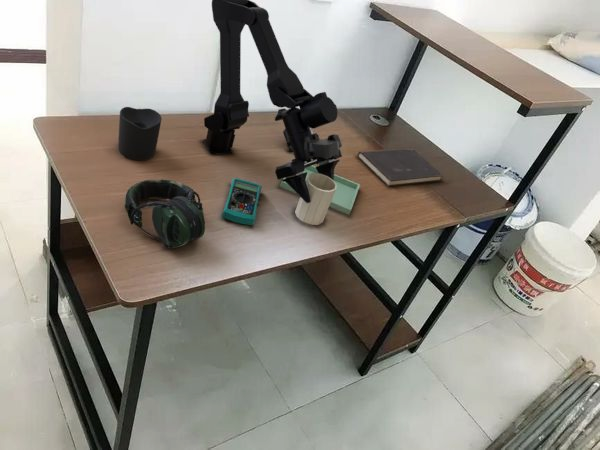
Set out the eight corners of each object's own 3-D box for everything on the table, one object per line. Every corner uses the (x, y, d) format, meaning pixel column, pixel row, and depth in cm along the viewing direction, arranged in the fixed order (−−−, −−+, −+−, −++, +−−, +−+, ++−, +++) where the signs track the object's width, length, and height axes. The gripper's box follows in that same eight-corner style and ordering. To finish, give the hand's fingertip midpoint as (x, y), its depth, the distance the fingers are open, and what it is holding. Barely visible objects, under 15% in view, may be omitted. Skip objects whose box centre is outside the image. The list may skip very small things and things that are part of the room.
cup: (300, 226, 123) (313, 190, 117) (290, 207, 128) (303, 172, 122) (326, 226, 126) (341, 192, 120) (316, 208, 131) (330, 174, 125)
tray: (279, 188, 133) (281, 181, 132) (293, 164, 145) (296, 158, 143) (348, 216, 132) (351, 210, 131) (357, 190, 144) (360, 184, 142)
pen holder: (142, 166, 123) (147, 130, 117) (108, 151, 124) (111, 114, 118) (163, 151, 131) (168, 116, 125) (130, 137, 131) (134, 101, 126)
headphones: (234, 214, 109) (171, 177, 118) (203, 187, 97) (137, 148, 106) (197, 267, 107) (136, 225, 116) (162, 246, 95) (97, 201, 104)
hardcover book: (440, 181, 163) (443, 175, 162) (387, 187, 150) (390, 180, 149) (408, 153, 173) (411, 147, 171) (356, 156, 160) (359, 150, 158)
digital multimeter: (220, 220, 116) (223, 210, 114) (230, 185, 128) (233, 175, 126) (252, 228, 117) (255, 218, 115) (259, 193, 129) (262, 183, 127)
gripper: (299, 132, 108) (322, 202, 110) (349, 117, 121) (368, 180, 124) (264, 145, 116) (286, 210, 118) (314, 130, 129) (333, 189, 131)
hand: (320, 197), depth 122 cm, fingers open, 9 cm apart
